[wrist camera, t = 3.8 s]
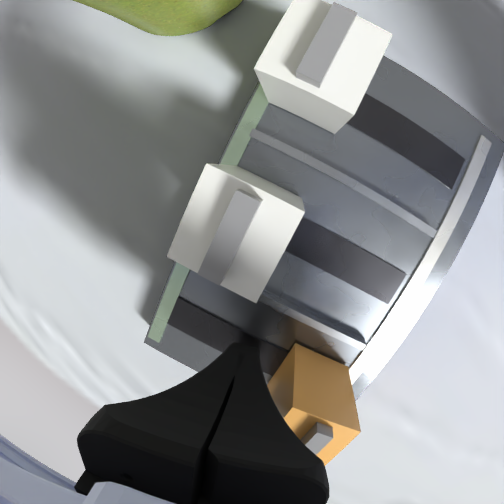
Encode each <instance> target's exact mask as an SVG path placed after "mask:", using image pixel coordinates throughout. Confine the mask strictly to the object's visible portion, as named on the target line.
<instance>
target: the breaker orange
mask: <svg viewBox="0 0 504 504" xmlns="http://www.w3.org/2000/svg"><path fill="white" fill-rule="evenodd" d="M267 386H268V389H269V391H270V394H271V396H272V398H273V401H274V403H275V405H276V406H277V408H278V410H279V412H280V414H281V415H282V417H283V418H284V420H285V421H286V423H287V424H288V426H289V427H290V428H291V429H292V431H293V432H294V433H295V435H296V436H297V437H298V438H299V439H300V440H301V442H302V443H303V444H304V445H305V446H306V447H307V448H309V449H310V450H311V451H312V452H313V453H314V454H315V455H317V456H318V457H319V458H320V459H321V460H322V461H323V463H324V466H325V465H326V464H327V463H328V462H329V461H331V460H332V459H333V458H334V457H335V456H336V455H337V454H338V453H339V452H340V451H341V450H343V449H344V448H345V447H346V446H347V445H348V444H349V443H350V442H351V441H352V440H353V439H354V438H355V437H356V436H357V435H358V434H359V433H360V432H361V431H360V425H359V420H358V414H357V409H356V404H355V398H354V393H353V388H352V383H351V378H350V374H349V369H348V366H345V365H343V364H341V363H339V362H336V361H334V360H332V359H330V358H327V357H325V356H323V355H321V354H318V353H316V352H314V351H312V350H310V349H308V348H305V347H303V346H301V345H299V344H297V343H295V344H294V346H293V347H292V349H291V350H290V352H289V353H288V355H287V356H286V358H285V359H284V361H283V362H282V364H281V365H280V367H279V368H278V370H277V371H276V373H275V374H274V376H273V377H272V378H271V380H270V381H269V383H268V384H267Z"/></svg>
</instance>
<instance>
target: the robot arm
mask: <svg viewBox="0 0 504 504" xmlns="http://www.w3.org/2000/svg"><path fill="white" fill-rule="evenodd" d="M77 443H78V448H79V451H80V454H81V457H82V460H83V463H84V466H85V469H86V470H85V471H84V473H83V474H82V476H81V477H80V479H79V480H78V482H77V483H76V482H74V481H72V480H70V479H68V478H66V477H65V476H63V475H61V474H59V473H58V472H56V471H54V470H52V469H51V468H49V467H47V466H46V465H44V464H43V463H41V462H39V461H38V460H36V459H35V458H33V457H31V456H30V455H28V454H27V453H25V452H24V451H23V450H21V449H20V448H18V447H17V446H15V445H14V444H13V443H11V442H10V441H8V440H7V439H6V438H4V437H3V436H1V435H0V504H326V503H327V501H328V498H329V483H328V478H327V473H326V469H325V466H324V463H323V461H322V460H321V459H320V458H319V457H318V456H317V455H315V454H314V453H313V452H312V451H311V450H310V449H309V448H307V447H306V446H305V445H304V444H303V443H302V442H301V440H300V439H299V438H298V437H297V436H296V435H295V433H294V432H293V431H292V429H291V428H290V427H289V426H288V424H287V423H286V421H285V420H284V418H283V417H282V415H281V414H280V412H279V410H278V408H277V406H276V405H275V403H274V401H273V398H272V396H271V394H270V391H269V389H268V386H267V384H266V381H265V377H264V374H263V371H262V366H261V361H260V350H259V349H258V347H253V346H249V345H244V344H240V343H235V342H233V343H231V344H230V345H229V347H228V348H227V349H226V350H225V351H224V352H223V353H222V354H221V355H220V356H218V357H217V358H216V359H215V360H214V361H213V362H211V363H210V364H209V365H208V366H207V367H205V368H204V369H202V370H201V371H200V372H198V373H197V374H195V375H194V376H192V377H191V378H189V379H187V380H186V381H184V382H182V383H180V384H178V385H177V386H174V387H172V388H170V389H168V390H166V391H163V392H161V393H158V394H155V395H152V396H149V397H146V398H142V399H138V400H133V401H129V402H122V403H116V404H108V405H104V406H103V407H102V408H101V409H100V410H99V411H98V412H97V413H96V414H95V415H94V416H93V417H92V418H91V419H90V421H89V422H88V423H87V424H86V426H85V427H84V428H83V429H82V431H81V432H80V433H79V435H78V438H77Z"/></svg>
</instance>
